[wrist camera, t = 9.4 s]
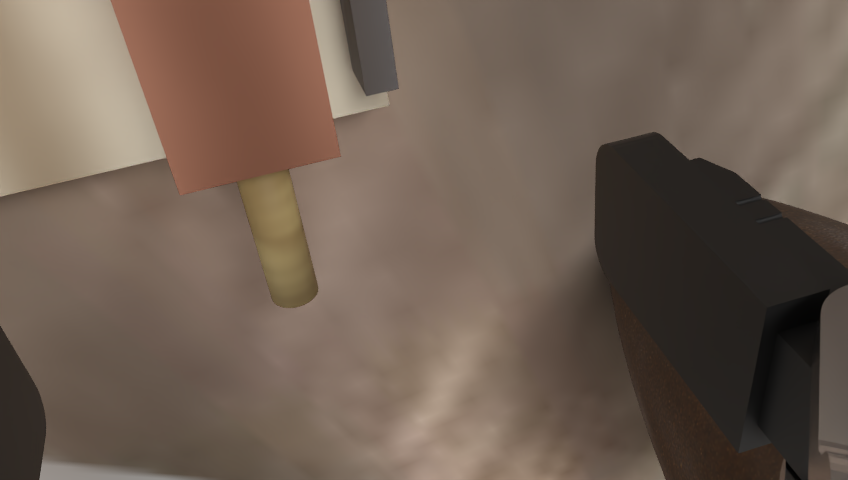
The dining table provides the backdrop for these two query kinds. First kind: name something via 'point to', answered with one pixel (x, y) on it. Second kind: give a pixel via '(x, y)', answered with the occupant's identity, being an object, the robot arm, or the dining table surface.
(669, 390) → the plant pot
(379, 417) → the dining table surface
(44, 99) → the board
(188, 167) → the reddish-brown block with stick
